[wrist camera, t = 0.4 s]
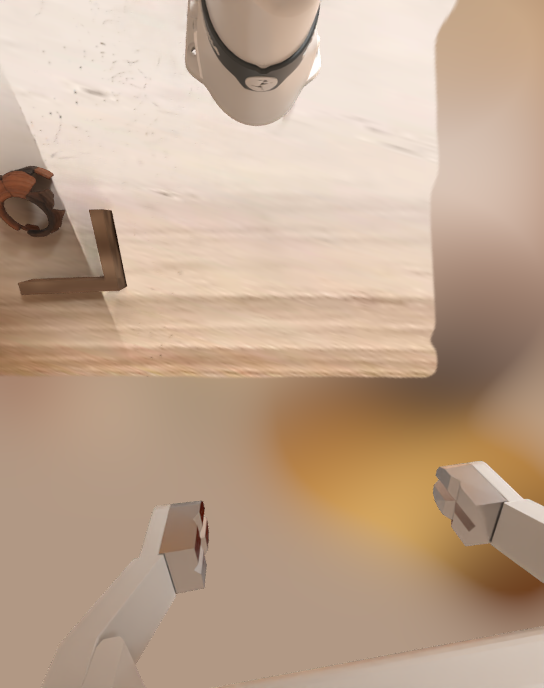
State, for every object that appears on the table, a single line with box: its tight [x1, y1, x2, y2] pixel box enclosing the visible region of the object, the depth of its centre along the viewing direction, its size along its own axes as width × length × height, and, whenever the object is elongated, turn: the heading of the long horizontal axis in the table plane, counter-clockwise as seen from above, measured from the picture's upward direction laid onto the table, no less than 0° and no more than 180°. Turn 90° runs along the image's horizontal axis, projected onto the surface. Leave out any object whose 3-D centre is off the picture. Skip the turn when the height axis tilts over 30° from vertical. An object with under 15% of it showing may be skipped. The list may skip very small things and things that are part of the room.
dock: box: [18, 209, 127, 295], centre depth 51 cm, size 13×16×4 cm
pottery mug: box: [0, 166, 65, 237], centre depth 47 cm, size 12×9×8 cm
